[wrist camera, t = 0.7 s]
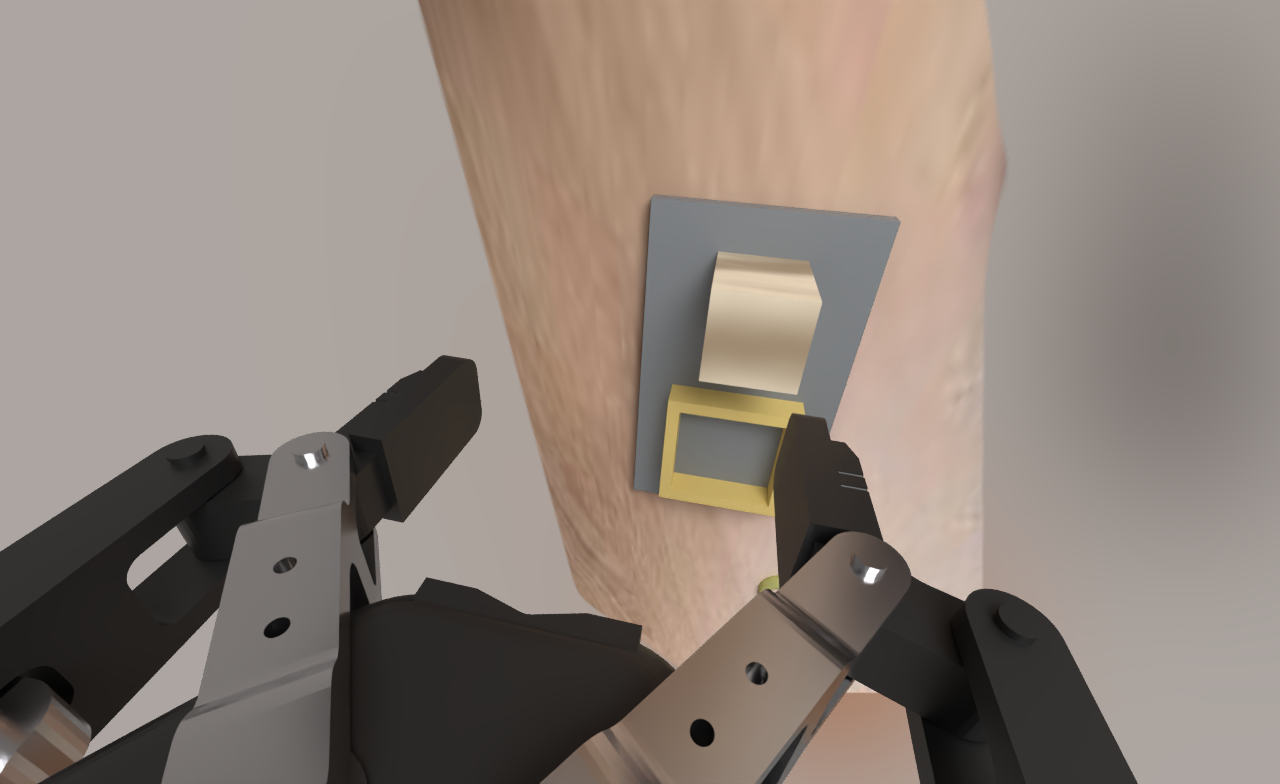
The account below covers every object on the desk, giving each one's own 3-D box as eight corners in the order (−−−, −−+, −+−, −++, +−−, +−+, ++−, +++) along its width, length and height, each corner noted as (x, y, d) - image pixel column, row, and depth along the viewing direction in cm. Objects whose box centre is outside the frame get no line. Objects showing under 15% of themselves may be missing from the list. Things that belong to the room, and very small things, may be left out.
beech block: (718, 251, 28) (711, 289, 23) (808, 261, 27) (822, 302, 22) (706, 331, 30) (698, 381, 25) (789, 341, 30) (797, 394, 25)
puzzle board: (654, 194, 27) (644, 206, 25) (895, 217, 26) (911, 232, 23) (636, 480, 40) (628, 507, 37) (799, 508, 38) (803, 538, 35)
